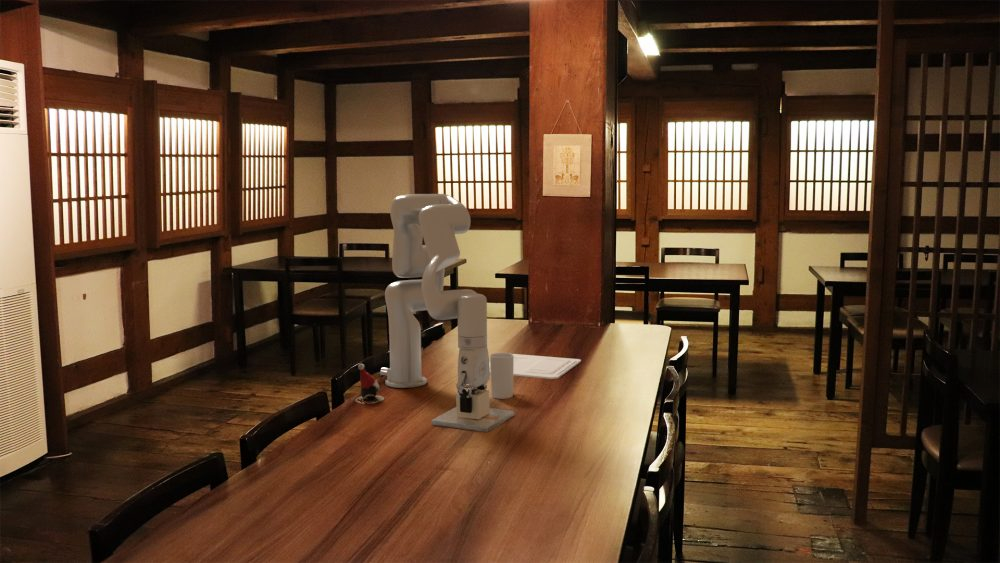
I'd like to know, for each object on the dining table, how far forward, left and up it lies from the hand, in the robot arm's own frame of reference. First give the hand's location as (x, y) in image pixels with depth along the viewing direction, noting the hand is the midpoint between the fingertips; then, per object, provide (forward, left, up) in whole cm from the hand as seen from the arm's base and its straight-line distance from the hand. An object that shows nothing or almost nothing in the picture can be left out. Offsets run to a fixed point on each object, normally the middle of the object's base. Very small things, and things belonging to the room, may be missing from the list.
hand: (473, 407), depth 222 cm
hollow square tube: (0, 0, -2) cm, 2 cm away
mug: (-3, +26, -4) cm, 26 cm away
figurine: (-36, +6, -4) cm, 37 cm away
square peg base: (0, 0, -3) cm, 3 cm away
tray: (-10, +62, -4) cm, 63 cm away
